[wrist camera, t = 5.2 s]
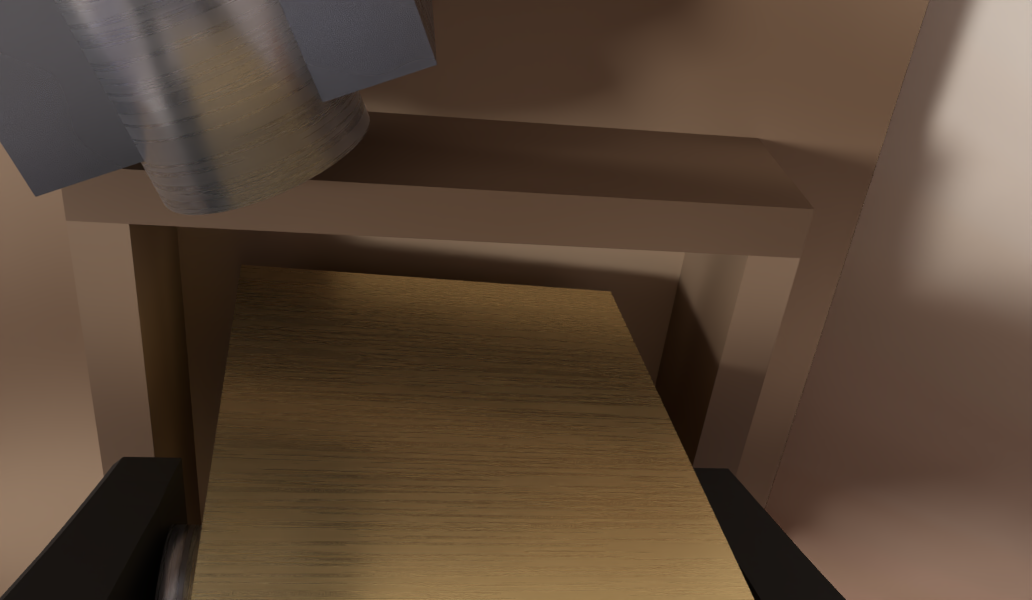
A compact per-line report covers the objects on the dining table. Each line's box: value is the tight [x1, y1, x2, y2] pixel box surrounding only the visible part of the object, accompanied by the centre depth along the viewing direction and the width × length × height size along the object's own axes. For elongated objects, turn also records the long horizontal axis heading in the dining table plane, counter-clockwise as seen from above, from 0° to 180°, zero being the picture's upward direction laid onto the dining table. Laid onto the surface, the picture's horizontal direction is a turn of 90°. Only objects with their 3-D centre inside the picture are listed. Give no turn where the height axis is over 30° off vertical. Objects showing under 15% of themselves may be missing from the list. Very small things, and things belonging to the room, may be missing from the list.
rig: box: [0, 0, 929, 597], centre depth 13 cm, size 17×15×3 cm
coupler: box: [155, 265, 754, 600], centre depth 11 cm, size 5×4×6 cm
